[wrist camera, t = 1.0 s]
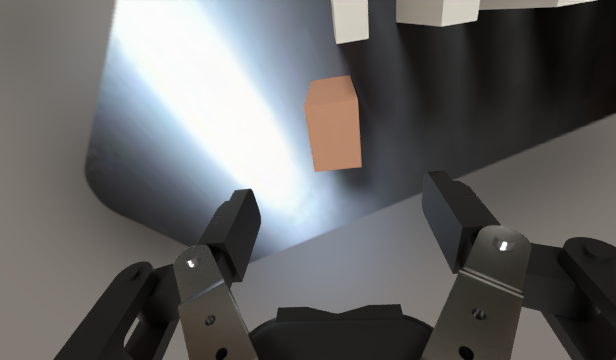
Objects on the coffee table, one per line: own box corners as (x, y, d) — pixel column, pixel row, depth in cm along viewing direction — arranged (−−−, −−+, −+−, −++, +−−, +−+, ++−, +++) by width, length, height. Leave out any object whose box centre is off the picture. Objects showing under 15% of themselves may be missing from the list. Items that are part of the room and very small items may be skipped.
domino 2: (349, 75, 23) (357, 99, 17) (353, 127, 26) (361, 167, 19) (311, 80, 24) (304, 106, 17) (318, 131, 26) (314, 171, 20)
